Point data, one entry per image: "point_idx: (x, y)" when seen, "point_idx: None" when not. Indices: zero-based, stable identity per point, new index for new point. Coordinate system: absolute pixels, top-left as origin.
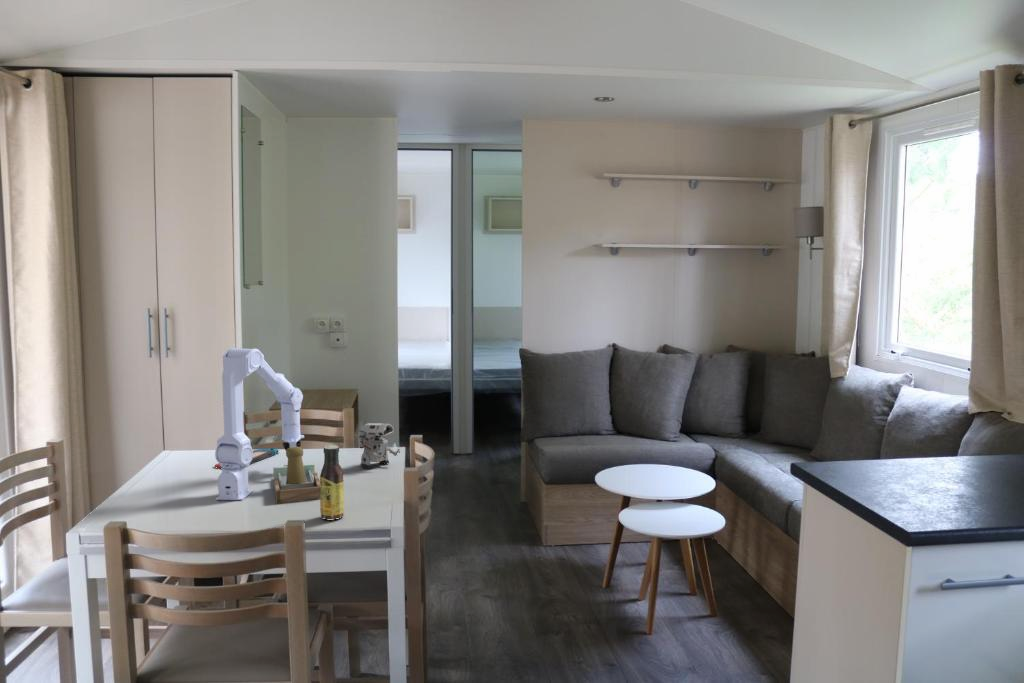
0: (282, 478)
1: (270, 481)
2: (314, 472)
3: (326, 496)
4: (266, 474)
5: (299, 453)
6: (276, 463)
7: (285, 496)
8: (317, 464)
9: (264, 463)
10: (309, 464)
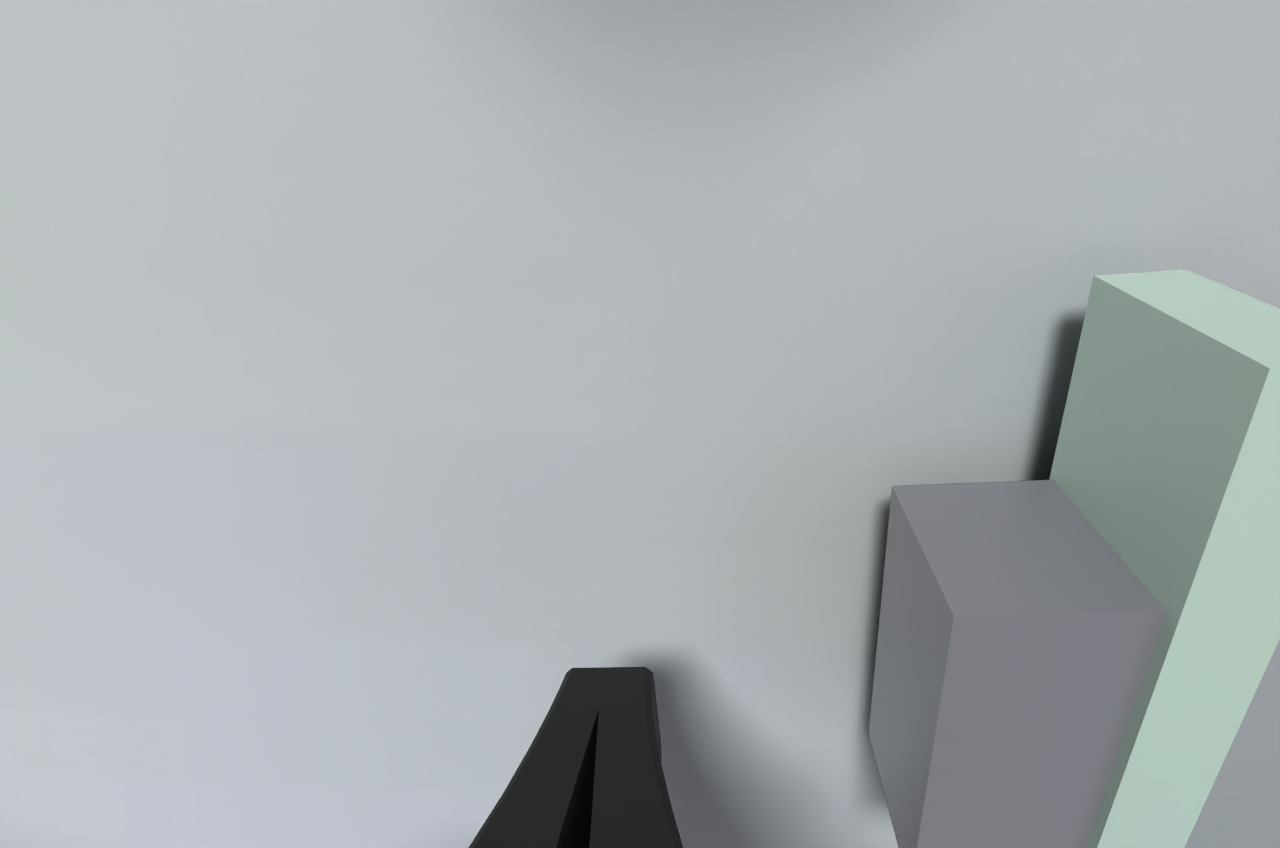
0: (1230, 782)
1: None
2: (1216, 287)
3: None
4: None
5: None
6: (93, 744)
7: None
8: (91, 184)
9: (107, 836)
10: (1274, 492)
